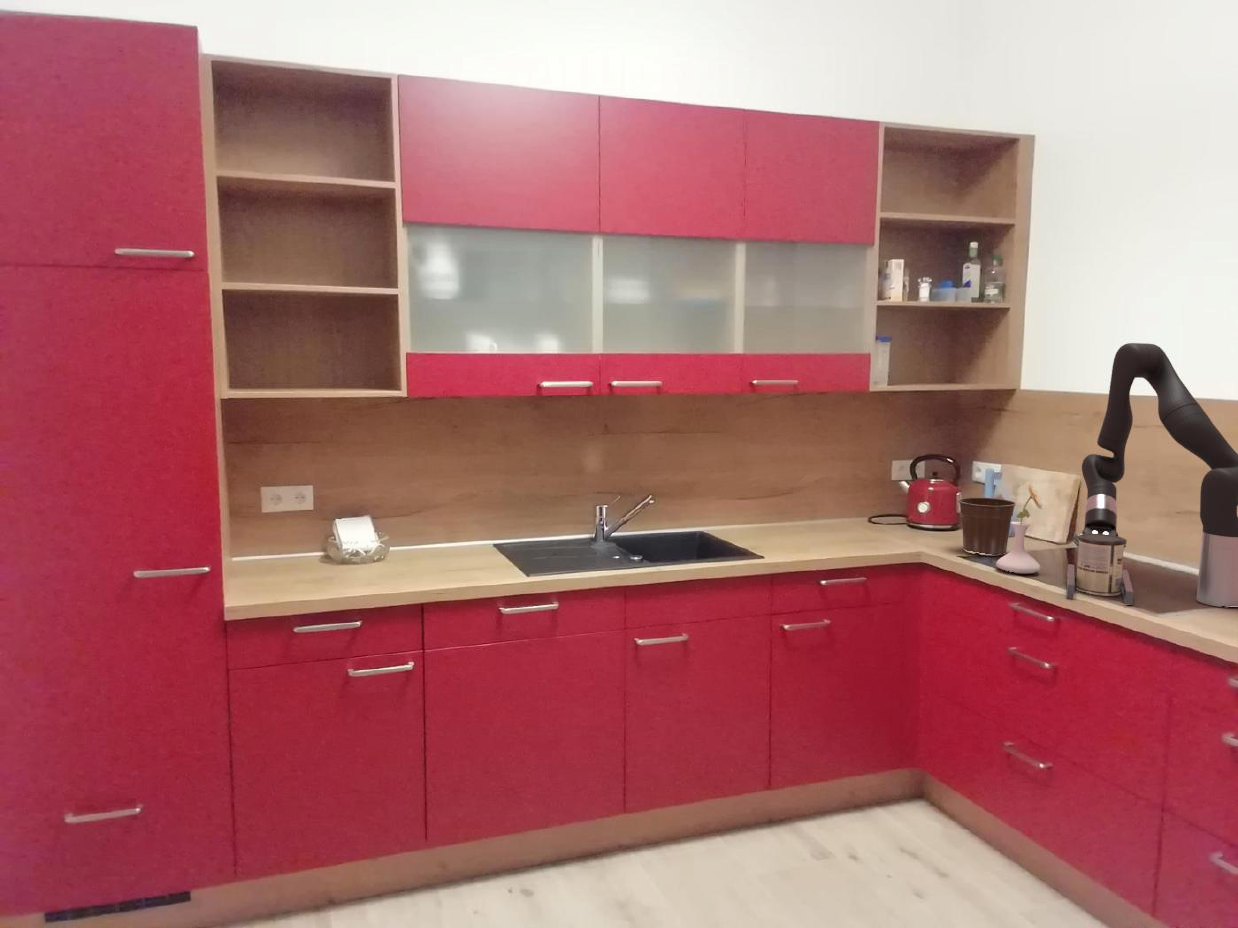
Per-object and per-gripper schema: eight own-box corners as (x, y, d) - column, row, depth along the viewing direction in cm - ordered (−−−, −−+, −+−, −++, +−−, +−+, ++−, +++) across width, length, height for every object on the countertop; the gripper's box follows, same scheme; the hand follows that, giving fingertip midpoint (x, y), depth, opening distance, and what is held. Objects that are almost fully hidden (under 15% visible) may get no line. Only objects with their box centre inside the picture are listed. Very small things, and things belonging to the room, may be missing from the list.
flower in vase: (1026, 578, 234) (1032, 487, 231) (987, 570, 243) (992, 482, 240) (1051, 572, 241) (1057, 483, 238) (1012, 564, 250) (1017, 479, 248)
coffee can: (1075, 584, 228) (1079, 531, 227) (1120, 589, 223) (1125, 535, 221) (1073, 592, 219) (1077, 538, 218) (1120, 598, 214) (1125, 542, 213)
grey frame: (1126, 582, 230) (1127, 570, 230) (1132, 606, 207) (1133, 592, 207) (1067, 576, 237) (1068, 564, 236) (1066, 598, 214) (1067, 584, 213)
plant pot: (975, 559, 257) (978, 505, 255) (945, 548, 273) (948, 497, 271) (1024, 557, 260) (1027, 504, 258) (991, 546, 276) (994, 496, 274)
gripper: (1074, 504, 235) (1070, 557, 226) (1130, 509, 229) (1129, 563, 220) (1072, 521, 241) (1069, 573, 231) (1127, 525, 234) (1126, 579, 225)
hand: (1098, 568), depth 226 cm, fingers closed
